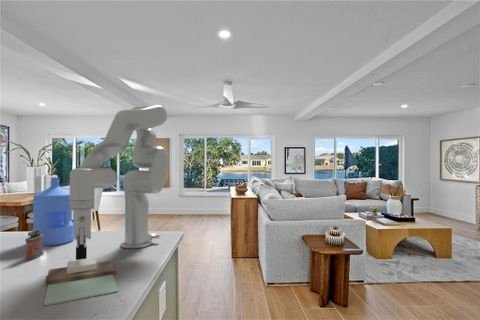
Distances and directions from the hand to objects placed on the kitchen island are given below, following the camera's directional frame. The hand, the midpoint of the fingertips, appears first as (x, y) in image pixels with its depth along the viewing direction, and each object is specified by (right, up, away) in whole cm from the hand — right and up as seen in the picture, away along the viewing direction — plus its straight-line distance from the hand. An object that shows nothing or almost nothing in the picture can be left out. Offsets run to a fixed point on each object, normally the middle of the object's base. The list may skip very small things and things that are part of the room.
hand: (81, 258), depth 100 cm
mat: (+10, -2, -18) cm, 21 cm away
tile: (+4, 0, -7) cm, 8 cm away
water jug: (-28, -3, +29) cm, 40 cm away
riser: (+5, -2, -8) cm, 10 cm away
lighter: (-22, -2, +8) cm, 23 cm away
